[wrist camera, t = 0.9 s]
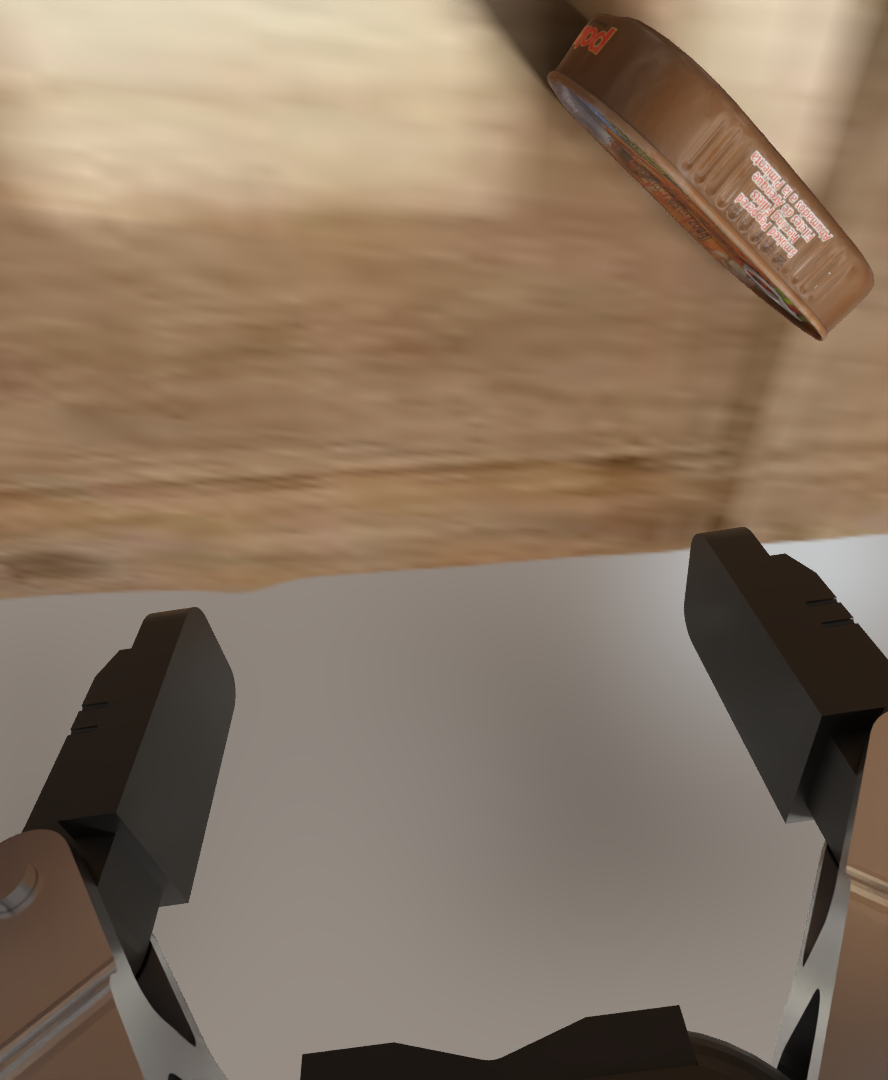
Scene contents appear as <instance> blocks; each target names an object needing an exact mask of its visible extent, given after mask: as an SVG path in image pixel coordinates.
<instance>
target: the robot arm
mask: <svg viewBox="0 0 888 1080" xmlns="http://www.w3.org/2000/svg"><path fill="white" fill-rule="evenodd" d="M684 615H685V622H686V626H687V630H688V634H689V636H690V639H691V641H692V643H693V645H694V647H695V649H696V651H697V653H698V655H699V657H700V659H701V661H702V663H703V665H704V667H705V669H706V671H707V673H708V674H709V676H710V678H711V680H712V682H713V684H714V686H715V688H716V690H717V692H718V694H719V696H720V698H721V700H722V702H723V703H724V705H725V707H726V709H727V711H728V713H729V715H730V717H731V719H732V721H733V723H734V725H735V727H736V729H737V730H738V732H739V734H740V736H741V738H742V740H743V742H744V744H745V746H746V748H747V750H748V752H749V754H750V756H751V757H752V759H753V761H754V763H755V765H756V767H757V769H758V771H759V773H760V775H761V776H762V779H763V781H764V783H765V785H766V787H767V788H768V790H769V792H770V794H771V796H772V798H773V800H774V802H775V804H776V806H777V808H778V810H779V811H780V814H781V815H782V817H783V819H784V821H785V823H793V822H801V821H808V820H815V822H816V824H817V825H818V827H819V829H820V831H821V833H822V834H823V836H824V838H825V842H824V845H823V847H822V850H821V855H820V860H819V864H818V869H817V874H816V878H815V883H814V888H813V893H812V897H811V902H810V906H809V911H808V916H807V920H806V925H805V930H804V934H803V939H802V944H801V948H800V954H799V958H798V962H797V967H796V971H795V975H794V979H793V983H792V987H791V990H790V994H789V996H788V1000H787V1002H786V1006H785V1009H784V1012H783V1016H782V1019H781V1024H780V1027H779V1031H778V1035H777V1039H776V1043H775V1048H774V1052H773V1057H772V1062H771V1065H769V1064H768V1063H766V1062H765V1061H763V1060H761V1059H760V1058H758V1057H756V1056H755V1055H753V1054H751V1053H749V1052H747V1051H745V1050H743V1049H740V1048H739V1047H736V1046H734V1045H732V1044H730V1043H728V1042H726V1041H723V1040H720V1039H717V1038H713V1037H710V1036H707V1035H704V1034H701V1033H696V1032H690V1031H687V1029H686V1026H685V1022H684V1019H683V1016H682V1013H681V1009H680V1006H679V1005H677V1006H669V1007H662V1008H653V1009H646V1010H638V1011H630V1012H623V1013H616V1014H608V1015H600V1016H592V1017H585V1018H583V1019H581V1020H579V1021H577V1022H575V1023H573V1024H571V1025H569V1026H567V1027H565V1028H562V1029H560V1030H558V1031H556V1032H554V1033H552V1034H550V1035H548V1036H546V1037H544V1038H542V1039H540V1040H538V1041H536V1042H533V1043H531V1044H529V1045H527V1046H525V1047H523V1048H521V1049H519V1050H517V1051H515V1052H513V1053H510V1054H508V1055H506V1056H504V1057H502V1058H499V1059H496V1060H489V1061H488V1060H480V1059H475V1058H470V1057H465V1056H460V1055H455V1054H450V1053H445V1052H440V1051H435V1050H430V1049H425V1048H420V1047H414V1046H409V1045H404V1044H399V1043H387V1044H378V1045H371V1046H363V1047H355V1048H348V1049H340V1050H332V1051H325V1052H317V1053H310V1054H303V1055H302V1065H301V1077H300V1080H888V659H887V658H886V657H885V656H884V654H883V653H882V652H881V651H880V649H879V648H878V647H877V646H876V645H875V643H874V642H873V641H872V640H871V639H870V638H869V636H868V635H867V634H866V633H865V631H864V630H863V629H862V628H861V627H860V625H859V624H858V623H857V624H855V623H854V621H853V617H852V616H851V614H850V613H849V612H848V611H847V610H846V608H845V607H844V606H843V605H842V604H841V603H838V602H837V600H836V596H835V595H834V594H833V593H832V591H831V590H830V589H829V588H828V587H827V585H826V584H825V583H824V582H823V581H822V579H821V578H820V577H819V576H818V575H817V573H815V572H814V571H812V570H811V569H809V568H808V567H806V566H804V565H803V564H801V563H800V562H798V561H796V560H795V559H793V558H791V557H790V556H788V555H787V554H779V555H772V556H770V555H769V554H768V553H767V552H766V550H765V549H764V548H763V546H762V545H761V544H760V542H759V541H758V540H757V538H756V537H755V536H754V534H753V533H752V532H751V531H750V530H749V529H748V528H745V527H739V528H733V529H726V530H719V531H712V532H706V533H699V534H696V535H695V536H694V537H693V539H692V543H691V550H690V559H689V568H688V575H687V585H686V593H685V601H684ZM234 706H235V682H234V677H233V673H232V670H231V668H230V666H229V664H228V662H227V660H226V658H225V656H224V654H223V651H222V650H221V647H220V645H219V643H218V641H217V639H216V637H215V635H214V633H213V631H212V629H211V627H210V625H209V623H208V621H207V619H206V617H205V615H204V613H203V612H202V611H201V610H200V609H199V608H197V607H192V608H186V609H179V610H172V611H165V612H158V613H152V614H149V615H148V616H146V618H145V619H144V621H143V623H142V625H141V627H140V630H139V632H138V634H137V637H136V639H135V641H134V644H133V646H132V648H131V649H125V650H119V652H118V653H117V654H116V655H115V656H114V657H113V658H112V659H111V660H110V661H109V662H108V663H107V665H106V666H105V667H104V668H103V669H102V670H101V671H100V672H99V673H98V675H97V676H96V677H95V678H94V681H93V683H92V685H91V687H90V689H89V691H88V693H87V695H86V698H85V700H84V702H83V704H82V708H83V709H82V711H79V712H78V715H77V717H76V719H75V721H74V723H73V725H72V728H71V735H68V736H67V738H66V740H65V742H64V744H63V747H62V749H61V751H60V753H59V755H58V757H57V759H56V761H55V764H54V766H53V768H52V770H51V772H50V774H49V776H48V779H47V781H46V783H45V785H44V787H43V789H42V791H41V794H40V796H39V798H38V800H37V802H36V804H35V806H34V808H33V811H32V812H31V815H30V817H29V819H28V821H27V823H26V825H25V827H24V829H23V831H22V833H20V834H17V835H15V836H12V837H10V838H8V839H6V840H5V841H3V842H1V843H0V1080H228V1079H227V1077H226V1076H225V1074H224V1073H223V1072H222V1070H221V1069H220V1067H219V1066H218V1064H217V1063H216V1061H215V1060H214V1058H213V1056H212V1054H211V1053H210V1051H209V1049H208V1047H207V1045H206V1043H205V1041H204V1039H203V1036H202V1035H201V1032H200V1030H199V1028H198V1026H197V1024H196V1021H195V1019H194V1017H193V1015H192V1013H191V1011H190V1009H189V1007H188V1004H187V1002H186V1000H185V998H184V996H183V994H182V992H181V990H180V987H179V985H178V983H177V981H176V979H175V977H174V975H173V972H172V970H171V968H170V966H169V964H168V962H167V960H166V957H165V956H164V953H163V951H162V949H161V947H160V945H159V943H158V940H157V939H156V937H155V936H154V934H153V933H152V930H153V927H154V923H155V919H156V915H157V912H158V908H159V907H162V906H169V905H176V904H184V903H188V902H189V898H190V894H191V890H192V885H193V881H194V877H195V872H196V868H197V864H198V860H199V856H200V851H201V847H202V843H203V839H204V834H205V830H206V826H207V821H208V817H209V813H210V809H211V804H212V800H213V796H214V792H215V787H216V783H217V778H218V775H219V770H220V766H221V762H222V758H223V754H224V749H225V745H226V741H227V737H228V732H229V728H230V724H231V720H232V715H233V711H234Z"/></svg>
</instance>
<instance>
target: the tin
mask: <svg viewBox="0 0 888 1080" xmlns="http://www.w3.org/2000/svg"><path fill="white" fill-rule="evenodd" d="M547 81H548V83H549V85H550V87H551V88H552V90H553V91H554V93H555V95H556V96H557V98H558V99H559V100H560V102H561V103H562V104H563V106H564V107H565V108H566V109H567V110H568V111H569V112H570V113H571V114H572V115H573V117H574V118H575V119H576V120H577V121H578V122H579V123H580V124H581V125H582V126H583V127H584V128H585V129H586V130H587V131H588V132H589V133H590V134H591V135H592V136H593V137H594V138H595V139H596V140H597V141H598V143H599V144H600V145H601V146H603V147H604V149H605V150H606V151H607V152H608V153H609V154H610V155H612V156H613V157H614V158H615V160H617V161H618V162H619V163H620V165H621V166H622V167H624V168H625V169H626V170H627V171H628V172H629V173H630V174H631V175H632V176H633V177H634V178H635V179H636V180H637V181H638V182H639V183H640V184H641V185H642V186H643V187H644V188H645V189H646V190H647V191H648V192H649V193H650V194H651V195H652V196H653V197H654V198H655V199H656V200H657V201H658V202H659V203H660V204H661V205H662V206H663V207H664V208H665V209H666V210H667V211H668V212H669V213H670V214H671V215H672V216H673V217H674V218H675V219H676V220H677V221H678V222H679V223H680V224H681V225H682V226H683V227H684V228H685V229H686V230H687V231H688V232H689V233H690V234H691V235H692V236H693V237H694V238H695V239H696V240H697V241H698V242H699V243H700V244H701V245H702V246H703V247H704V248H705V249H706V250H707V251H708V252H709V253H710V254H711V255H713V256H714V257H715V258H716V259H717V260H718V261H719V262H720V263H721V264H722V265H723V266H724V267H726V268H727V269H728V270H729V271H730V272H731V273H732V274H733V275H734V276H735V277H737V278H738V279H739V280H740V281H741V282H742V283H744V284H745V285H746V286H747V287H748V288H749V289H751V290H752V291H753V292H754V293H755V294H756V295H758V296H759V297H760V298H762V299H763V300H764V301H765V302H766V303H768V304H769V305H770V306H771V307H773V308H774V309H775V310H777V311H778V312H779V313H781V314H782V315H783V316H784V317H786V318H787V319H788V320H789V321H791V322H792V323H793V324H794V325H796V326H797V327H799V328H800V329H801V330H803V331H804V332H806V333H807V334H809V335H810V336H812V337H814V338H815V339H817V340H819V341H823V340H824V339H826V337H827V334H828V333H829V332H830V331H831V330H832V329H833V328H834V327H835V326H836V325H837V324H838V323H839V322H840V321H841V320H842V319H843V318H845V317H846V316H847V315H848V314H849V313H850V312H851V311H852V310H853V309H854V308H855V307H856V306H857V305H858V304H859V303H860V302H861V301H862V300H863V299H864V298H865V297H866V296H867V295H868V294H869V293H870V291H871V290H872V288H873V286H874V275H873V272H872V270H871V268H870V266H869V264H868V263H867V261H866V259H865V258H864V256H863V255H862V253H861V252H860V251H859V250H858V248H857V247H856V246H855V244H854V243H853V242H852V240H851V239H850V238H849V237H848V236H847V235H846V233H845V232H844V231H843V229H842V228H841V227H840V226H839V225H838V223H837V222H836V221H835V220H834V218H833V217H832V216H831V215H830V213H829V212H828V211H827V210H826V208H825V207H824V206H823V205H822V204H821V203H820V201H819V200H818V199H817V197H816V196H815V195H814V194H813V193H812V191H811V190H810V189H809V188H808V187H807V185H806V184H805V183H804V182H803V181H802V180H801V178H800V177H799V176H798V175H797V174H796V173H795V171H794V170H793V169H792V168H791V166H790V165H789V164H788V163H787V162H786V160H785V159H784V158H783V157H782V156H781V154H780V153H779V152H778V151H777V150H776V149H775V148H774V146H773V145H772V144H771V143H770V142H769V141H768V139H767V138H766V137H765V135H764V134H763V133H762V132H761V131H760V130H759V129H758V128H757V127H756V125H755V124H754V123H753V122H752V121H751V120H750V118H749V117H748V116H747V115H746V114H745V113H744V112H743V110H742V109H741V108H740V107H739V106H738V104H737V103H736V102H735V101H734V100H733V99H732V98H731V97H730V96H729V95H728V94H727V92H726V91H725V90H724V89H723V88H722V87H721V86H720V85H719V84H718V83H717V82H716V81H715V80H714V79H713V78H712V77H711V76H710V75H709V74H708V73H707V72H706V71H705V70H704V69H703V68H702V67H701V66H699V65H698V64H697V63H696V62H695V61H694V60H693V59H692V58H691V57H690V56H688V55H687V54H686V53H685V52H684V51H682V50H681V49H680V48H679V47H677V46H676V45H675V44H674V43H672V42H671V41H670V40H669V39H667V38H666V37H664V36H663V35H662V34H660V33H659V32H657V31H656V30H654V29H653V28H651V27H649V26H648V25H646V24H644V23H642V22H641V21H639V20H636V19H633V18H629V17H617V16H612V15H608V14H598V15H595V16H594V17H593V18H592V19H591V20H590V21H589V22H588V24H587V25H586V26H585V27H584V29H583V30H582V32H581V33H580V34H579V36H578V37H577V39H576V40H575V42H574V43H573V45H572V46H571V48H570V49H569V51H568V52H567V54H566V55H565V57H564V58H563V60H562V61H561V62H560V64H559V65H558V67H557V68H556V69H555V71H551V72H550V73H549V74H548V76H547Z"/></svg>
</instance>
